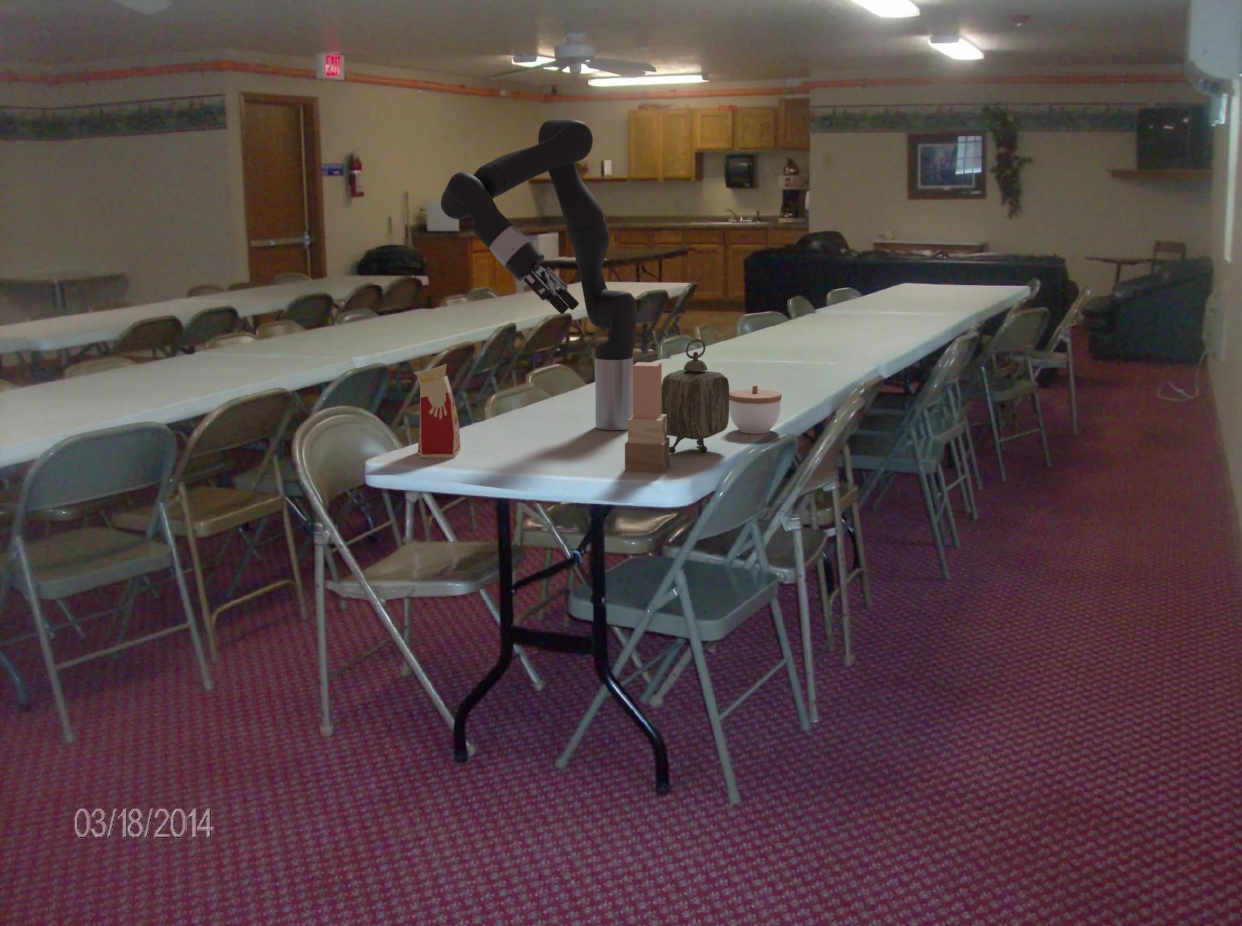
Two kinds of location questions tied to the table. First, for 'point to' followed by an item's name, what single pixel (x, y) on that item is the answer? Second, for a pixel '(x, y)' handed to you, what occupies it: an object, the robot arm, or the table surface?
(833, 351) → the table surface
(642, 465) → the walnut block
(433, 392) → the milk carton
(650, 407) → the terracotta pillar
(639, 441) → the oak block
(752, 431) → the lidded bowl
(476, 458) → the table surface
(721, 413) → the tabletop clock
